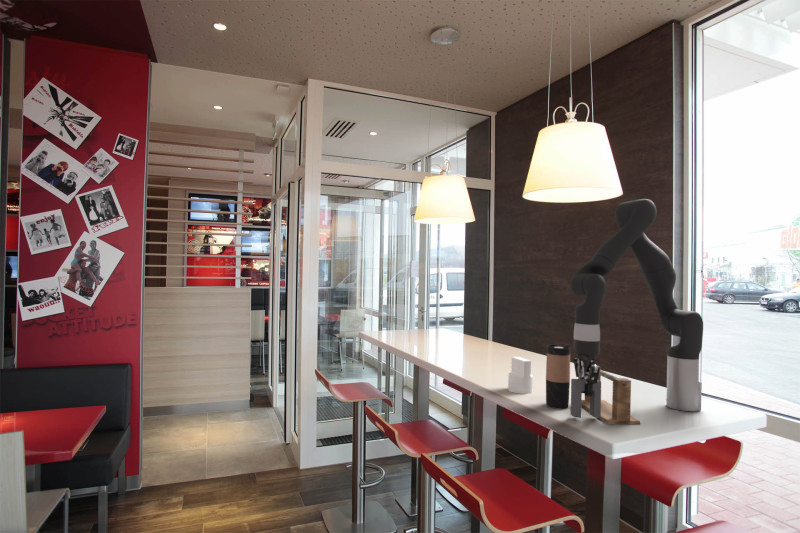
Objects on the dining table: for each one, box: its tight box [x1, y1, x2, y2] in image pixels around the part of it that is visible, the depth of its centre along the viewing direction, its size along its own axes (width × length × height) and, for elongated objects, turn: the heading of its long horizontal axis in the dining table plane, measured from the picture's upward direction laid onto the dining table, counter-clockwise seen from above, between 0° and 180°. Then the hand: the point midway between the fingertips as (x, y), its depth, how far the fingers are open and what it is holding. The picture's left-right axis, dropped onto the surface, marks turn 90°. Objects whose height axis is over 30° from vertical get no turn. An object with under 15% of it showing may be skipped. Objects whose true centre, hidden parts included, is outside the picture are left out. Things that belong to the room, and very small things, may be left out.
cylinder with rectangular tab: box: [507, 356, 534, 395], centre depth 172 cm, size 9×9×12 cm
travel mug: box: [545, 344, 571, 410], centre depth 154 cm, size 8×8×20 cm
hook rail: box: [581, 366, 641, 425], centre depth 147 cm, size 10×22×13 cm, turn 2°
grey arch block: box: [570, 378, 602, 419], centre depth 140 cm, size 8×3×11 cm, turn 92°
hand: (585, 394), depth 140 cm, fingers closed on grey arch block, 3 cm apart
